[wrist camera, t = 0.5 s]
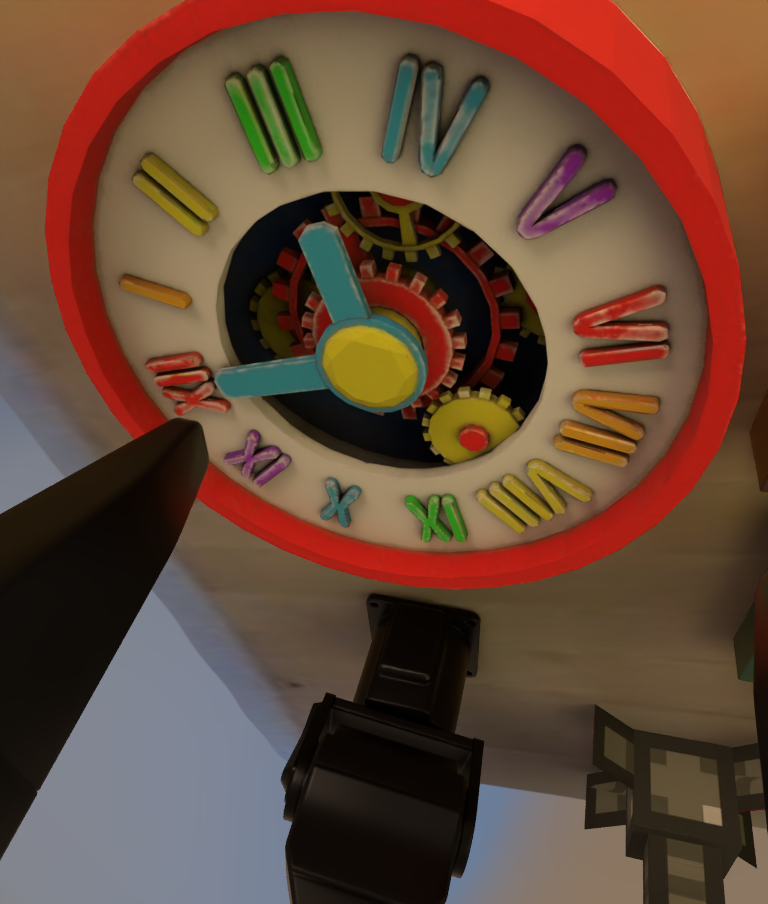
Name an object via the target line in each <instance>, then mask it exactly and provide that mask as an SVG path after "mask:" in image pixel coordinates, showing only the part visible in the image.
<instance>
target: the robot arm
mask: <svg viewBox="0 0 768 904" xmlns="http://www.w3.org/2000/svg"><path fill="white" fill-rule="evenodd" d="M208 465H209V454H208V449H207V445H206V440H205V436H204V431H203V427H202V425H201V424H200V423H199V422H198V421H195V420H190V419H186V418H181V417H176V418H173V419H171V420H169V421H167V422H165V423H163V424H162V425H160V426H158V427H156V428H154V429H153V430H151V431H149V432H147V433H145V434H144V435H142V436H140V437H138V438H136V439H135V440H133V441H131V442H129V443H127V444H126V445H124V446H122V447H120V448H118V449H117V450H115V451H113V452H111V453H109V454H108V455H106V456H104V457H102V458H100V459H99V460H97V461H95V462H93V463H91V464H90V465H88V466H86V467H84V468H82V469H81V470H79V471H77V472H75V473H73V474H72V475H70V476H68V477H66V478H64V479H63V480H61V481H59V482H57V483H56V484H54V485H52V486H50V487H48V488H46V489H45V490H43V491H41V492H39V493H38V494H36V495H34V496H32V497H30V498H28V499H27V500H25V501H23V502H22V503H20V504H18V505H16V506H14V507H12V508H10V509H9V510H7V511H5V512H3V513H1V514H0V860H1V858H2V856H3V854H4V853H5V851H6V849H7V847H8V846H9V844H10V842H11V840H12V838H13V837H14V835H15V833H16V831H17V829H18V827H19V826H20V824H21V822H22V820H23V819H24V817H25V815H26V813H27V811H28V810H29V808H30V806H31V804H32V803H33V801H34V799H35V797H36V796H37V791H38V790H39V789H40V788H41V786H42V784H43V782H44V780H45V779H46V777H47V775H48V773H49V772H50V770H51V768H52V766H53V764H54V763H55V761H56V759H57V757H58V755H59V754H60V752H61V750H62V748H63V746H64V745H65V743H66V741H67V739H68V737H69V736H70V734H71V732H72V730H73V729H74V727H75V725H76V723H77V721H78V720H79V718H80V716H81V714H82V713H83V711H84V709H85V707H86V705H87V704H88V702H89V700H90V698H91V696H92V695H93V693H94V691H95V689H96V687H97V686H98V684H99V682H100V680H101V678H102V677H103V675H104V673H105V671H106V670H107V668H108V666H109V664H110V662H111V661H112V659H113V657H114V655H115V654H116V652H117V650H118V648H119V646H120V645H121V643H122V641H123V639H124V637H125V636H126V634H127V632H128V630H129V628H130V627H131V625H132V623H133V621H134V619H135V618H136V616H137V614H138V612H139V611H140V609H141V607H142V605H143V603H144V602H145V600H146V598H147V596H148V594H149V592H150V591H151V589H152V587H153V586H154V584H155V582H156V580H157V578H158V577H159V575H160V573H161V571H162V570H163V568H164V566H165V564H166V562H167V561H168V559H169V557H170V555H171V553H172V551H173V549H174V547H175V545H176V543H177V541H178V539H179V536H180V534H181V532H182V529H183V527H184V525H185V522H186V520H187V517H188V515H189V513H190V510H191V508H192V505H193V503H194V501H195V498H196V496H197V493H198V491H199V489H200V486H201V484H202V481H203V479H204V477H205V474H206V472H207V469H208ZM366 604H367V611H368V617H369V624H370V631H371V637H372V643H371V646H370V649H369V652H368V656H367V659H366V662H365V665H364V668H363V672H362V675H361V678H360V681H359V684H358V687H357V691H356V694H355V697H354V700H353V702H350V701H347V700H344V699H341V698H337V697H336V695H334V694H330V693H327V692H326V694H325V697H324V699H323V701H322V702H320V703H313V706H312V709H311V711H310V714H309V717H308V720H307V723H306V725H305V728H304V730H303V733H302V735H301V737H300V739H299V741H298V743H297V745H296V747H295V749H294V751H293V753H292V754H291V756H290V758H289V760H288V762H287V764H286V766H285V768H284V770H283V773H282V776H281V782H282V785H283V787H284V789H285V792H286V794H285V803H286V804H285V809H284V816H283V818H284V820H287V821H290V822H292V825H291V828H290V832H289V835H288V838H287V841H286V846H285V852H286V874H287V884H288V891H289V898H290V904H445V902H446V899H447V896H448V891H449V886H450V880H451V876H454V877H457V878H461V877H462V875H463V873H464V870H465V867H466V864H467V860H468V857H469V852H470V848H471V844H472V839H473V833H474V828H475V822H476V814H477V806H478V796H479V786H480V776H481V766H482V756H483V747H484V741H483V740H480V739H477V738H474V739H470V738H467V737H464V736H461V735H457V734H455V730H456V725H457V720H458V715H459V709H460V704H461V699H462V694H463V689H464V684H465V679H466V677H475V676H476V675H477V669H478V654H479V637H480V621H481V619H480V617H479V616H478V615H477V614H475V613H472V612H466V611H461V610H456V609H451V608H446V607H440V606H435V605H430V604H425V603H420V602H414V601H409V600H404V599H399V598H394V597H388V596H383V595H378V594H370V595H369V596H368V599H367V603H366ZM753 692H754V706H755V716H756V726H757V735H758V745H759V755H760V764H761V774H762V783H763V793H764V803H765V812H766V822H767V831H768V571H767V572H766V573H765V575H764V576H763V577H762V579H761V580H760V582H759V584H758V586H757V589H756V595H755V631H754V672H753Z"/></svg>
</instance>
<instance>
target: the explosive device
mask: <svg viewBox="0 0 768 904" xmlns="http://www.w3.org/2000/svg"><path fill="white" fill-rule="evenodd" d="M593 765H594V766H596V767H597V768H599V769H600V770H602V771H603V772H597V773H592V774H587V788H586V809H585V829H591V828H601V827H610V826H619V825H626V856H627V857H631V858H635V859H640V860H643V904H725V895H724V884H723V879H724V878H725V876H726V875H727V873H728V871H729V869H730V868H731V866H732V865H733V863H734V861H735V860H736V858H737V856H738V857H740V858H741V859H743V860H744V861H746V862H748V863H749V864H751V865H752V866H754V867H755V868H757V865H756V856H755V848H754V840H753V832H752V822H751V814H750V811H754V810H763V809H765V803H764V793H763V783H762V774H761V764H760V755H759V745H758V743H754V744H749V745H743V746H738V747H733V748H731V747H726V746H720V745H714V744H709V743H703V742H698V741H692V740H687V739H681V738H675V737H670V736H664V735H659V734H653V733H648V732H642V731H636V730H633V729H632V728H630V727H629V726H627V725H626V724H624V723H623V722H621V721H620V720H618V719H617V718H615V717H614V716H612V715H611V714H609V713H608V712H606V711H605V710H603V709H602V708H600V707H599V706H597V705H596V704H595V718H594V741H593Z"/></svg>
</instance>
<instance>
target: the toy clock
mask: <svg viewBox="0 0 768 904" xmlns="http://www.w3.org/2000/svg"><path fill="white" fill-rule="evenodd" d="M45 235H46V243H47V251H48V259H49V267H50V275H51V282H52V285H53V288H54V292H55V295H56V298H57V302H58V305H59V309H60V312H61V315H62V319H63V322H64V325H65V329H66V331H67V333H68V335H69V337H70V340H71V342H72V344H73V346H74V348H75V350H76V352H77V354H78V356H79V358H80V360H81V362H82V364H83V367H84V369H85V371H86V373H87V375H88V376H89V378H90V379H91V381H92V382H93V384H94V385H95V387H96V389H97V390H98V392H99V393H100V395H101V396H102V398H103V400H104V401H105V403H106V404H107V406H108V407H109V409H110V410H111V412H112V413H113V415H114V416H115V417H116V418H117V419H118V421H119V422H120V423H121V424H122V425H123V427H124V428H125V429H126V430H127V431H128V433H129V434H130V435H131V436H132V437H133V439H134V440H135V439H136V438H138V437H140V436H142V435H144V434H145V433H147V432H149V431H151V430H153V429H154V428H156V427H158V426H160V425H162V424H163V423H165V422H167V421H169V420H171V419H173V418H176V417H181V418H186V419H190V420H195V421H198V422H199V423H200V424H201V425H202V427H203V431H204V436H205V440H206V445H207V449H208V454H209V465H208V469H207V472H206V474H205V477H204V479H203V481H202V484H201V486H200V489H199V491H198V493H197V496H196V497H197V498H198V499H199V500H200V501H202V502H203V503H204V504H205V505H207V506H208V507H209V508H211V509H213V510H214V511H216V512H217V513H219V514H220V515H222V516H223V517H225V518H227V519H228V520H230V521H231V522H233V523H234V524H236V525H237V526H239V527H241V528H242V529H244V530H245V531H247V532H249V533H251V534H253V535H255V536H257V537H259V538H261V539H263V540H265V541H267V542H269V543H271V544H273V545H274V546H276V547H278V548H280V549H282V550H284V551H287V552H289V553H292V554H294V555H297V556H300V557H302V558H305V559H307V560H310V561H312V562H315V563H317V564H320V565H322V566H325V567H328V568H332V569H335V570H339V571H342V572H346V573H349V574H353V575H357V576H360V577H364V578H368V579H373V580H378V581H384V582H389V583H394V584H400V585H405V586H416V587H428V588H440V589H472V588H495V587H501V586H507V585H514V584H520V583H527V582H533V581H538V580H541V579H545V578H548V577H552V576H555V575H559V574H562V573H565V572H569V571H572V570H576V569H579V568H581V567H583V566H586V565H588V564H590V563H592V562H594V561H596V560H598V559H601V558H603V557H605V556H607V555H609V554H611V553H613V552H616V551H618V550H620V549H621V548H623V547H624V546H626V545H627V544H629V543H630V542H632V541H633V540H635V539H636V538H638V537H639V536H641V535H642V534H644V533H645V532H647V531H648V530H649V529H651V528H652V527H654V526H655V525H657V524H658V523H659V522H660V521H661V520H662V519H663V518H664V517H665V516H666V515H667V514H668V513H669V512H670V511H671V510H672V509H673V508H674V507H675V506H676V505H677V504H678V503H679V502H680V501H681V500H682V499H683V498H684V497H685V496H686V495H687V494H688V493H689V492H690V491H691V490H692V489H693V487H694V486H695V484H696V483H697V481H698V480H699V478H700V477H701V475H702V474H703V472H704V471H705V469H706V468H707V466H708V465H709V463H710V462H711V460H712V459H713V457H714V456H715V454H716V453H717V451H718V450H719V448H720V446H721V443H722V441H723V438H724V435H725V433H726V430H727V427H728V425H729V422H730V420H731V417H732V414H733V412H734V409H735V407H736V404H737V401H738V399H739V393H740V385H741V378H742V371H743V363H744V356H745V348H746V341H747V338H746V328H745V317H744V307H743V297H742V287H741V277H740V269H739V265H738V260H737V256H736V251H735V247H734V242H733V238H732V233H731V229H730V224H729V220H728V215H727V211H726V206H725V202H724V197H723V193H722V188H721V184H720V179H719V174H718V170H717V167H716V164H715V161H714V158H713V155H712V152H711V149H710V146H709V143H708V141H707V138H706V135H705V132H704V129H703V126H702V123H701V120H700V117H699V114H698V111H697V109H696V108H695V106H694V104H693V103H692V101H691V99H690V98H689V96H688V95H687V93H686V91H685V90H684V88H683V86H682V85H681V83H680V81H679V80H678V78H677V76H676V75H675V73H674V71H673V70H672V68H671V66H670V65H669V63H668V61H667V60H666V58H665V56H664V55H663V54H662V53H661V51H660V50H659V49H658V48H657V47H656V46H655V45H654V44H653V43H652V42H651V41H650V40H649V39H648V38H647V37H646V35H645V34H644V33H643V32H642V31H641V30H640V29H639V28H638V27H637V26H636V25H635V24H634V23H633V22H632V21H631V19H630V18H629V17H628V16H627V15H626V14H625V13H624V12H623V11H622V10H621V9H620V8H619V7H618V6H617V5H616V4H615V3H613V2H612V1H610V0H185V1H184V2H182V3H180V4H179V5H177V6H176V7H174V8H172V9H171V10H169V11H167V12H166V13H164V14H163V15H161V16H159V17H158V18H156V19H154V20H153V21H151V22H150V23H148V24H146V25H145V26H143V27H142V28H140V29H138V30H137V31H136V32H135V33H134V34H133V35H132V36H131V37H130V38H129V39H128V40H127V41H126V42H125V43H124V44H123V45H122V46H121V47H120V48H119V49H118V50H117V51H116V52H115V53H114V54H113V55H112V56H111V57H110V58H109V59H108V60H107V61H106V62H105V63H104V64H103V65H102V66H101V67H100V68H99V69H98V70H97V71H96V72H95V73H94V74H93V76H92V77H91V79H90V81H89V82H88V84H87V86H86V88H85V89H84V91H83V93H82V95H81V96H80V98H79V100H78V102H77V103H76V105H75V107H74V109H73V110H72V112H71V114H70V115H69V117H68V119H67V121H66V122H65V124H64V127H63V130H62V134H61V137H60V140H59V144H58V147H57V151H56V154H55V158H54V161H53V164H52V168H51V171H50V175H49V179H48V193H47V208H46V223H45Z"/></svg>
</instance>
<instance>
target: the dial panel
mask: <svg viewBox="0 0 768 904" xmlns="http://www.w3.org/2000/svg"><path fill="white" fill-rule="evenodd" d="M750 437H751V443H752V448H753V454H754V459H755V464H756V470H757V475H758V481H759V486H760V491H762V492H768V390H767V393H766V395H765V397H764V400H763V402H762V404H761V407H760V409H759V412H758V414H757V416H756V419H755V421H754V423H753V426H752V428H751V431H750Z"/></svg>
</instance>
